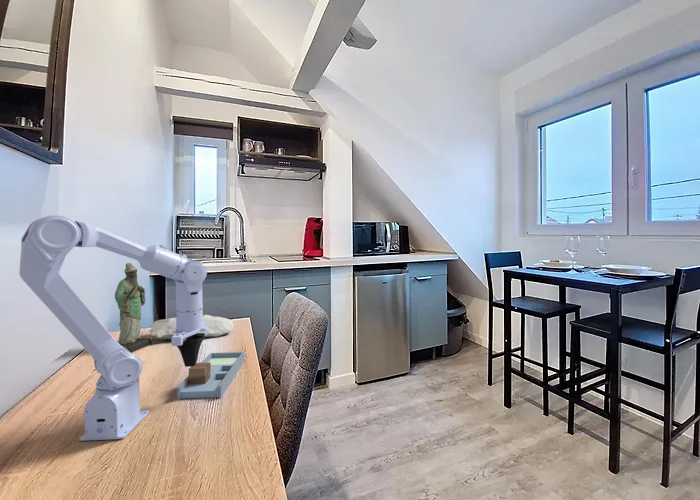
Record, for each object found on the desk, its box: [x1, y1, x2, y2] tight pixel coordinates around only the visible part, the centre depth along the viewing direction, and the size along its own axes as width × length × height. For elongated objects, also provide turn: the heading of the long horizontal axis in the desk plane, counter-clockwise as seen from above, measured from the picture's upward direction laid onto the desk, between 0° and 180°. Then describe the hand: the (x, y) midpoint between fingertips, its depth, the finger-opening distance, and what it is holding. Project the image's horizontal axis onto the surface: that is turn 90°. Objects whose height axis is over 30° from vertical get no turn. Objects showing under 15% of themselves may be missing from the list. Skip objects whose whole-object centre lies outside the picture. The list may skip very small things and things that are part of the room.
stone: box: [149, 314, 235, 341], centre depth 127 cm, size 21×8×30 cm
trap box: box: [176, 351, 245, 401], centre depth 88 cm, size 23×10×3 cm, turn 5°
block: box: [188, 362, 211, 384], centre depth 83 cm, size 4×4×4 cm
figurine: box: [114, 262, 153, 353], centre depth 112 cm, size 10×10×30 cm
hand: (190, 365), depth 77 cm, fingers closed
